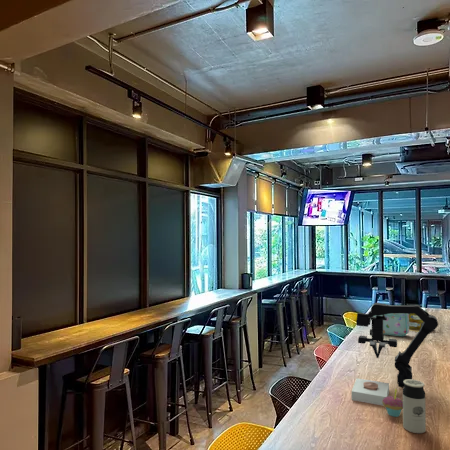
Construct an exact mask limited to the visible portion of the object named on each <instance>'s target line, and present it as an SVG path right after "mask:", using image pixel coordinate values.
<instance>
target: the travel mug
mask: <svg viewBox="0 0 450 450" xmlns="http://www.w3.org/2000/svg"><path fill="white" fill-rule="evenodd" d="M403 383H404V387H402V401H403V409H402V428H404V429H405V430H406V431H407V432H410V433H413V434H423V433H425V432H426V427H427V426H426V425H427V424H426V391H425V390H424V387H425V383H424V382H422V381H420V380H417V379H413V378H412V379H406V380H404V381H403Z"/></svg>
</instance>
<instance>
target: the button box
mask: <svg viewBox="0 0 450 450" xmlns="http://www.w3.org/2000/svg"><path fill="white" fill-rule="evenodd" d="M364 382H374V383H376V384H378V388H377V389H376V390H371V389H365V387H364ZM350 391H351V393H350V394H351V401H355V402H360V403H361V402H362V403H367V404H372V405H378V406H383V407H385V406H384V405H383V403H382V401H383V399H384V398H385V397H388V396H390V383H389V382H382V381H376V380H370V379H364V378H358V377H356V379H355V381H354V384H353V386H352V389H351V390H350Z"/></svg>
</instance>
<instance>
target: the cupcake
mask: <svg viewBox="0 0 450 450" xmlns="http://www.w3.org/2000/svg"><path fill="white" fill-rule="evenodd" d="M397 388H398V387H395V389H394V396H393V395H388V397H385V398H384V399H383V401H382V403H383V405H384V406H383V405H382V406H383V407H384V408H385V409H386V412H387V414H388V416H391V417H394V418H395V417H397V418H398V417H400V415H401V413H402V412H403V399H401V398H399V397H397V392H398V390H397Z"/></svg>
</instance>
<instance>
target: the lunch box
mask: <svg viewBox="0 0 450 450" xmlns="http://www.w3.org/2000/svg"><path fill="white" fill-rule="evenodd" d="M376 316H377V315H375V316H373V317H376ZM379 316H383V315H379ZM385 317H387V320H383V333H384V336H393V337H405V336H407V335H408V334H409V333H410V331H409V314H404V313H389V314H385ZM370 320H371V321H372V319H370Z"/></svg>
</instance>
